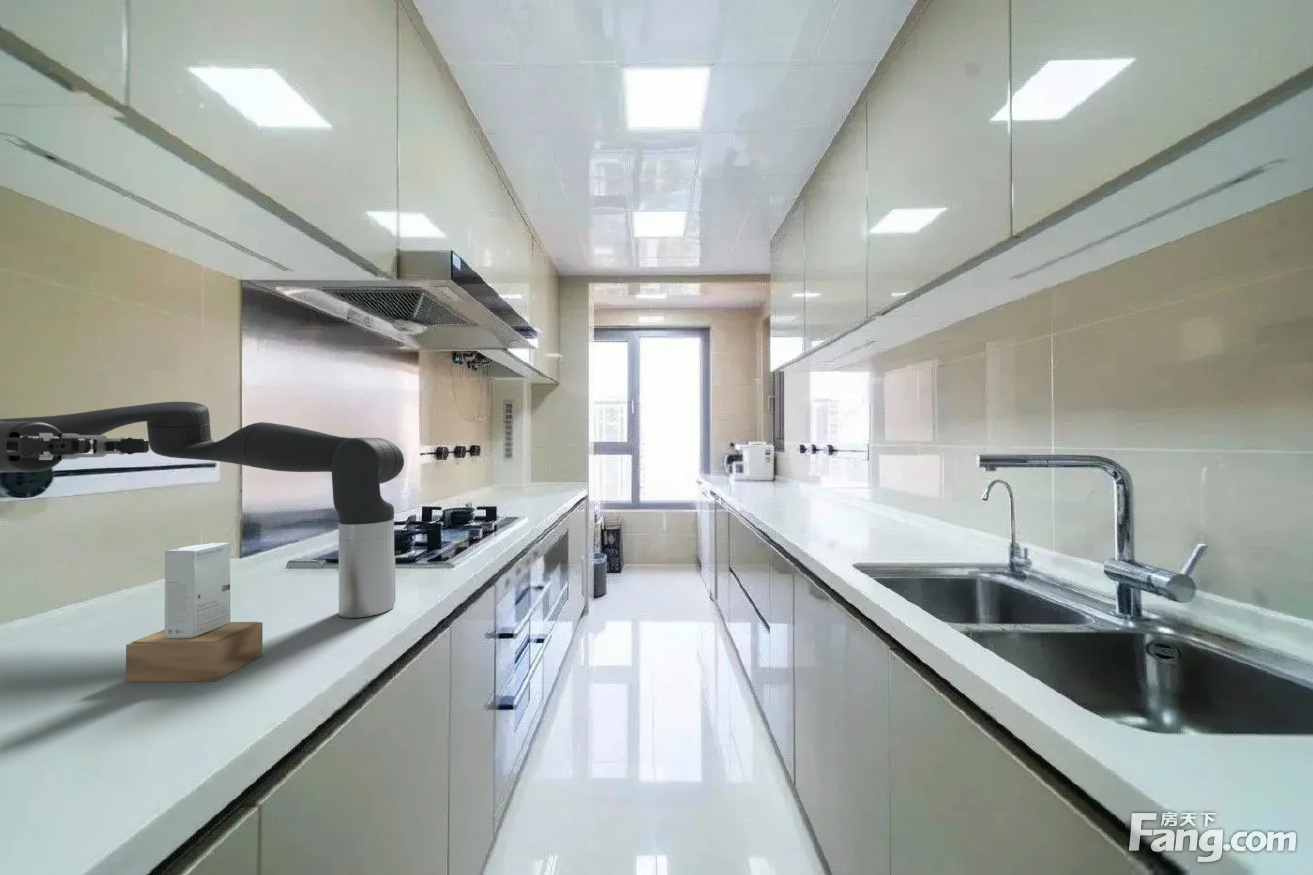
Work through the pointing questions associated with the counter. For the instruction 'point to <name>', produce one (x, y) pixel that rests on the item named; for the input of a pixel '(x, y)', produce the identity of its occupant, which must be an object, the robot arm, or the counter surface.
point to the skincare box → (197, 589)
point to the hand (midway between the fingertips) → (116, 445)
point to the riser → (194, 654)
